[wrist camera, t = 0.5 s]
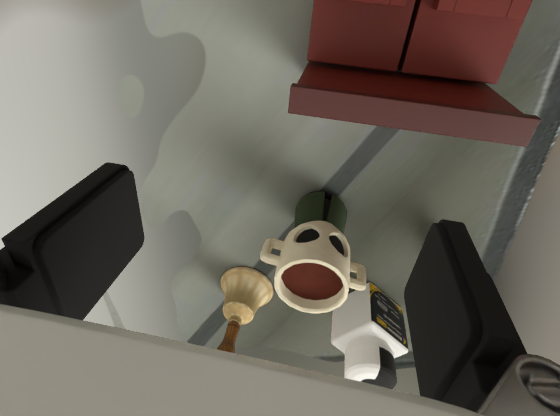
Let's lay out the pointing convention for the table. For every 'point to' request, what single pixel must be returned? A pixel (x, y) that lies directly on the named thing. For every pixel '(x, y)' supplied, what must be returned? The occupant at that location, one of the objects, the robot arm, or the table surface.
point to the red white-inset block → (359, 32)
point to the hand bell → (242, 300)
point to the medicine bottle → (370, 336)
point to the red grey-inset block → (462, 38)
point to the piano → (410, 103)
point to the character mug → (315, 257)
